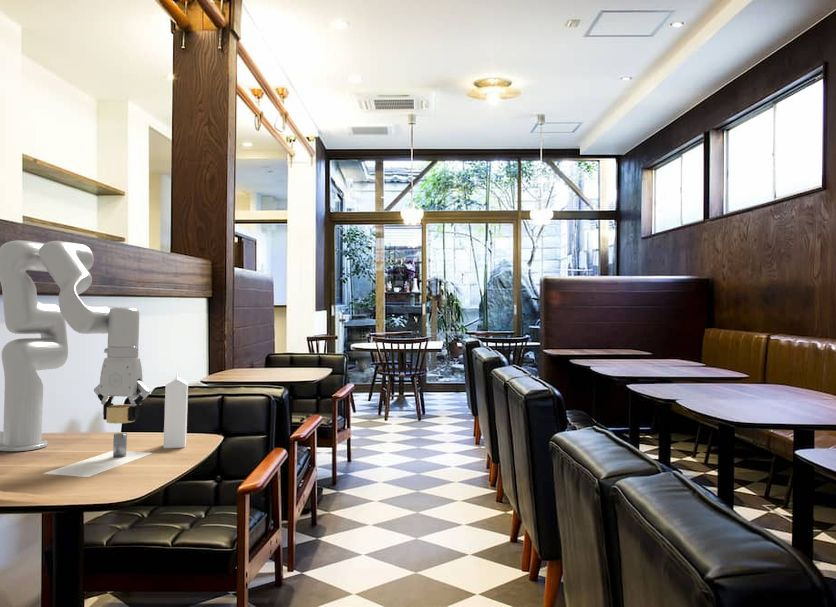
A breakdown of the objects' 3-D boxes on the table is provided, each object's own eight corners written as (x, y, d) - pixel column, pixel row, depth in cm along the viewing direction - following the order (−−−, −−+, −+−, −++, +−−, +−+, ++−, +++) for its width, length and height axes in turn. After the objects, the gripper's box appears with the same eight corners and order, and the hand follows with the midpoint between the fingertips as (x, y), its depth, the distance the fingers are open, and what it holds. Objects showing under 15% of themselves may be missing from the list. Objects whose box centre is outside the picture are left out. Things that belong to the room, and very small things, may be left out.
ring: (100, 422, 164) (101, 407, 164) (117, 418, 171) (118, 403, 171) (124, 424, 163) (124, 408, 163) (140, 419, 170) (140, 405, 170)
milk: (163, 448, 185) (165, 374, 185) (165, 444, 190) (167, 372, 191) (185, 447, 186) (187, 373, 186) (186, 443, 192) (188, 371, 192)
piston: (110, 457, 166) (111, 434, 166) (118, 454, 169) (118, 432, 169) (121, 458, 165) (121, 435, 165) (128, 455, 168) (129, 433, 168)
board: (42, 479, 148) (43, 473, 148) (113, 455, 174) (113, 450, 174) (87, 483, 146) (88, 476, 146) (152, 458, 172) (153, 452, 172)
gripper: (84, 353, 165) (82, 420, 165) (143, 355, 162) (141, 423, 162) (103, 351, 173) (101, 415, 172) (160, 353, 170) (158, 419, 169)
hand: (120, 419), depth 167 cm, fingers closed on ring, 6 cm apart
